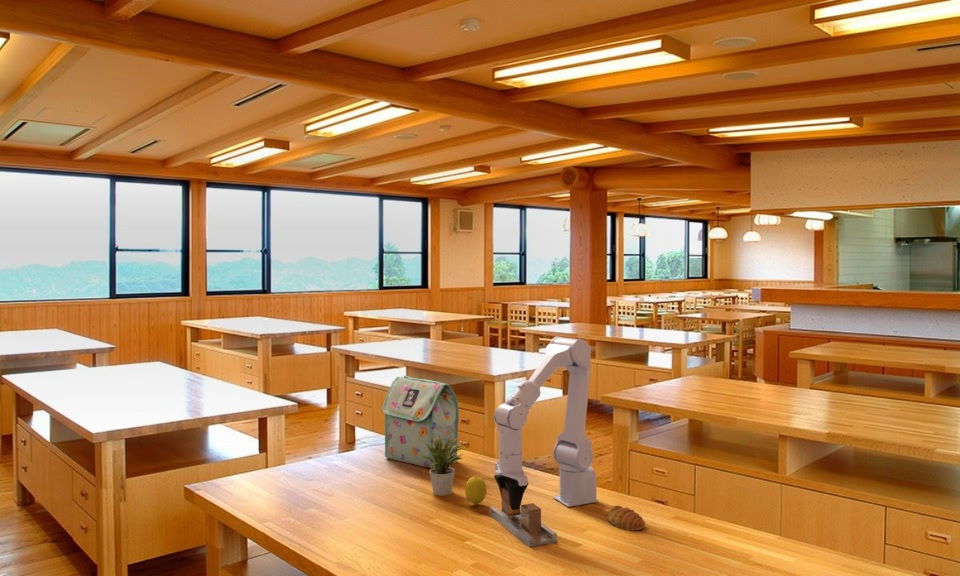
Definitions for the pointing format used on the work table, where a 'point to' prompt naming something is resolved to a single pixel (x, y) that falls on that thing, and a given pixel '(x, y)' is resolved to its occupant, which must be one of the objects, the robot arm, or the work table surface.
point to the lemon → (475, 490)
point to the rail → (521, 532)
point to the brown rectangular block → (508, 504)
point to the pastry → (625, 518)
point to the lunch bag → (419, 419)
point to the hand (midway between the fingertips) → (511, 505)
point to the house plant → (442, 466)
